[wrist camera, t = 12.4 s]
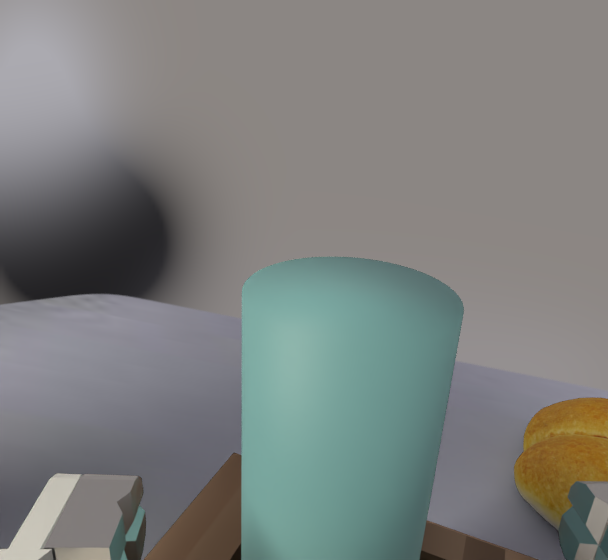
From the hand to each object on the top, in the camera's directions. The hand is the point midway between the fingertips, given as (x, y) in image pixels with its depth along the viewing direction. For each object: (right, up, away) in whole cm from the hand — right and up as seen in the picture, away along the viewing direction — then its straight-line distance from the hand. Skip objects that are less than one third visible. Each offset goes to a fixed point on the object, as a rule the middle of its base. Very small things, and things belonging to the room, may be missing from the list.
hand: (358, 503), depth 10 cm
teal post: (-1, -7, +5) cm, 9 cm away
